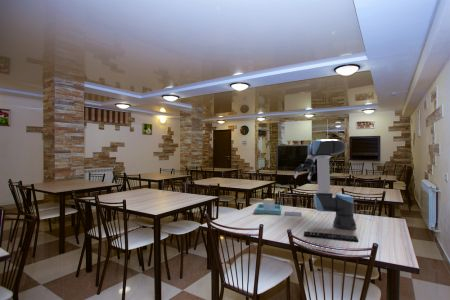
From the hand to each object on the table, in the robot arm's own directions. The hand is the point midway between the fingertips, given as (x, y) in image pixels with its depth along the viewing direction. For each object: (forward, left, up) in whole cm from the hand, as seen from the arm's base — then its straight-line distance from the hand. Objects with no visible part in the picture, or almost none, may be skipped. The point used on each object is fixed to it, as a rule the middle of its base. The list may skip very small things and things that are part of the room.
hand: (301, 178), depth 226 cm
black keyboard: (-61, -14, -31) cm, 70 cm away
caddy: (-4, +28, -29) cm, 41 cm away
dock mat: (-10, +8, -30) cm, 33 cm away
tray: (-5, +29, -30) cm, 42 cm away
